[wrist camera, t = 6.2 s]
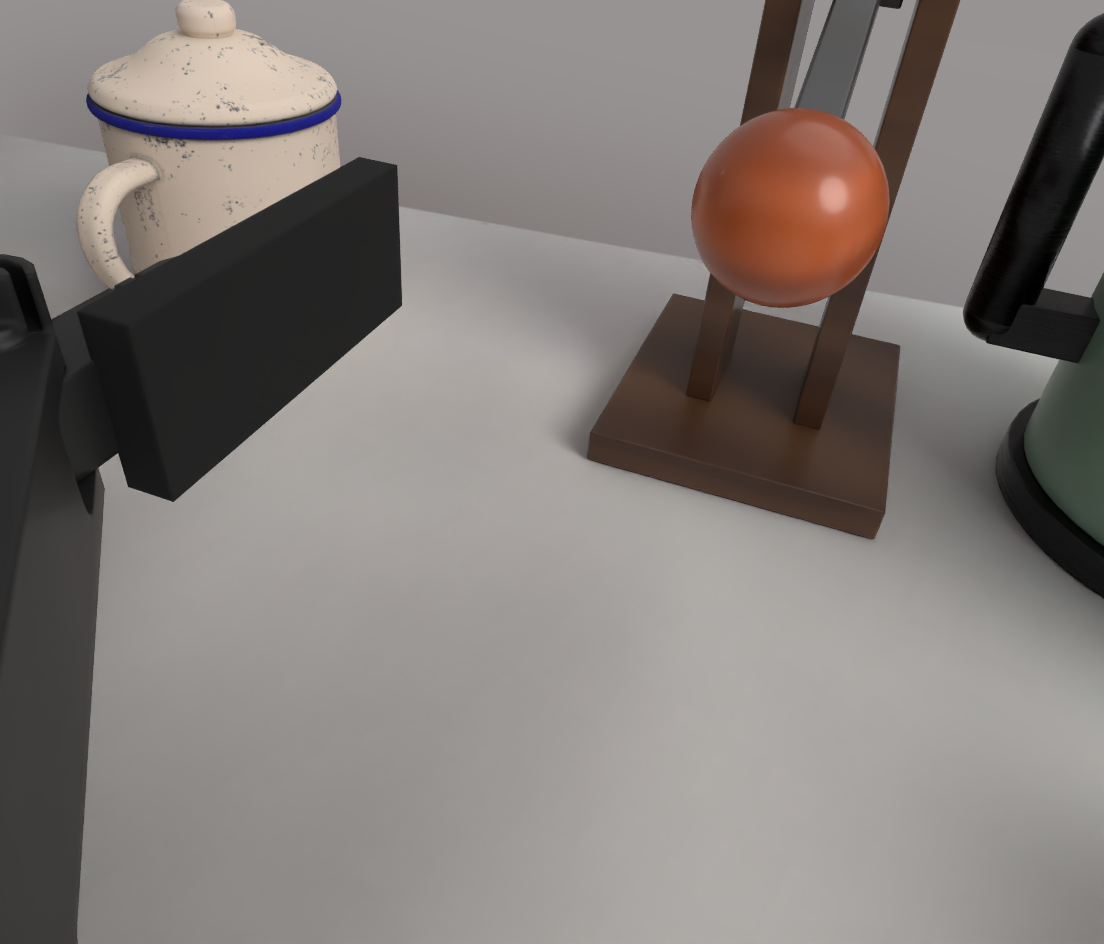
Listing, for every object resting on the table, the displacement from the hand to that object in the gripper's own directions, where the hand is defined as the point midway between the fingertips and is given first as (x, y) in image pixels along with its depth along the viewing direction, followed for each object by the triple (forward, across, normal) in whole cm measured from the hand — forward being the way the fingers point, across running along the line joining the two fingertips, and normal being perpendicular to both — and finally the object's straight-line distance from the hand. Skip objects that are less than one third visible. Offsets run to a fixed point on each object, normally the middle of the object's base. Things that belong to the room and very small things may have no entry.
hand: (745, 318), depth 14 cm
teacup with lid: (+13, -22, -12) cm, 29 cm away
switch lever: (+11, 0, 0) cm, 11 cm away
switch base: (+16, 0, -12) cm, 20 cm away
